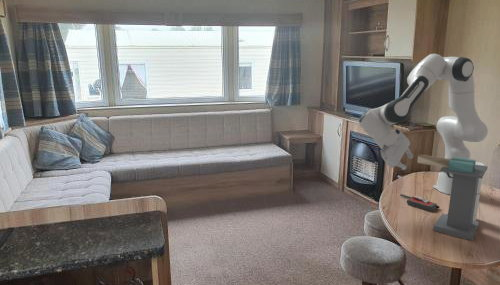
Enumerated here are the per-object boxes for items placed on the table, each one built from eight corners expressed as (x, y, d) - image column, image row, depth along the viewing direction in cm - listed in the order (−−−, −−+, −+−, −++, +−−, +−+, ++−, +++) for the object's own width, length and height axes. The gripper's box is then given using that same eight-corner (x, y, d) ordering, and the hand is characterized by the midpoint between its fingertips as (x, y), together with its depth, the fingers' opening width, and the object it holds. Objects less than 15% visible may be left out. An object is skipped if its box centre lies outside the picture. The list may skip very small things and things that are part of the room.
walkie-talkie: (441, 208, 176) (401, 196, 191) (442, 200, 175) (401, 188, 190) (432, 213, 171) (392, 200, 185) (433, 204, 170) (392, 192, 184)
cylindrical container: (469, 223, 160) (477, 166, 154) (453, 216, 166) (461, 162, 161) (479, 220, 163) (488, 164, 158) (463, 214, 169) (471, 160, 164)
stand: (441, 217, 165) (449, 160, 160) (478, 226, 157) (487, 166, 151) (433, 230, 153) (440, 169, 147) (472, 240, 145) (482, 176, 139)
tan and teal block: (420, 160, 160) (421, 152, 159) (474, 168, 148) (475, 160, 147) (415, 164, 154) (416, 155, 153) (471, 173, 142) (472, 164, 141)
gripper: (384, 149, 161) (406, 173, 161) (399, 126, 175) (420, 148, 174) (374, 155, 166) (395, 178, 166) (389, 133, 179) (409, 154, 179)
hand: (408, 163), depth 170 cm, fingers open, 8 cm apart
